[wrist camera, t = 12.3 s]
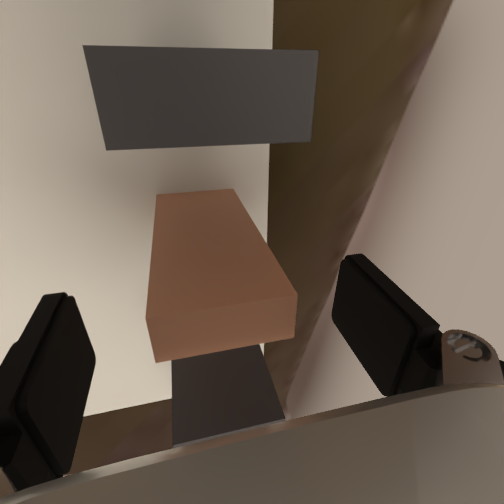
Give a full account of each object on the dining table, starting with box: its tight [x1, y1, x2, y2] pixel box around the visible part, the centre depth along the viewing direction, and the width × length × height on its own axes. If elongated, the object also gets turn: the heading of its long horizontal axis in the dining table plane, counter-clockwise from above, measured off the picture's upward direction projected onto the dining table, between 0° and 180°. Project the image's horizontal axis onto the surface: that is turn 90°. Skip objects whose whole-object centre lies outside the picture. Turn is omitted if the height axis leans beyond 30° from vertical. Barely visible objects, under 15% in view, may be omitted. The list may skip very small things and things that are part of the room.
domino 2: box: [145, 189, 298, 363], centre depth 16 cm, size 2×5×12 cm, turn 90°
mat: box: [0, 0, 274, 416], centre depth 19 cm, size 38×26×1 cm
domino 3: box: [171, 344, 285, 448], centre depth 19 cm, size 2×5×12 cm, turn 90°
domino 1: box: [82, 45, 319, 151], centre depth 12 cm, size 2×5×12 cm, turn 90°
